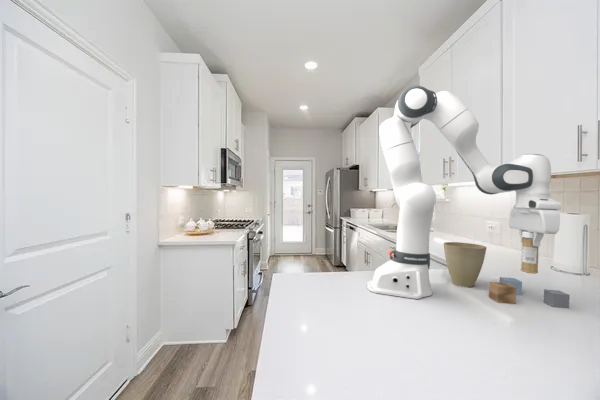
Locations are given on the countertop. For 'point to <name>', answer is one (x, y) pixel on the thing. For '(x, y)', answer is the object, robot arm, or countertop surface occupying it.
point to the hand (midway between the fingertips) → (530, 244)
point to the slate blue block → (513, 284)
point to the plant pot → (464, 262)
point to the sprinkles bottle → (529, 254)
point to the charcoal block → (556, 298)
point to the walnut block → (502, 292)
